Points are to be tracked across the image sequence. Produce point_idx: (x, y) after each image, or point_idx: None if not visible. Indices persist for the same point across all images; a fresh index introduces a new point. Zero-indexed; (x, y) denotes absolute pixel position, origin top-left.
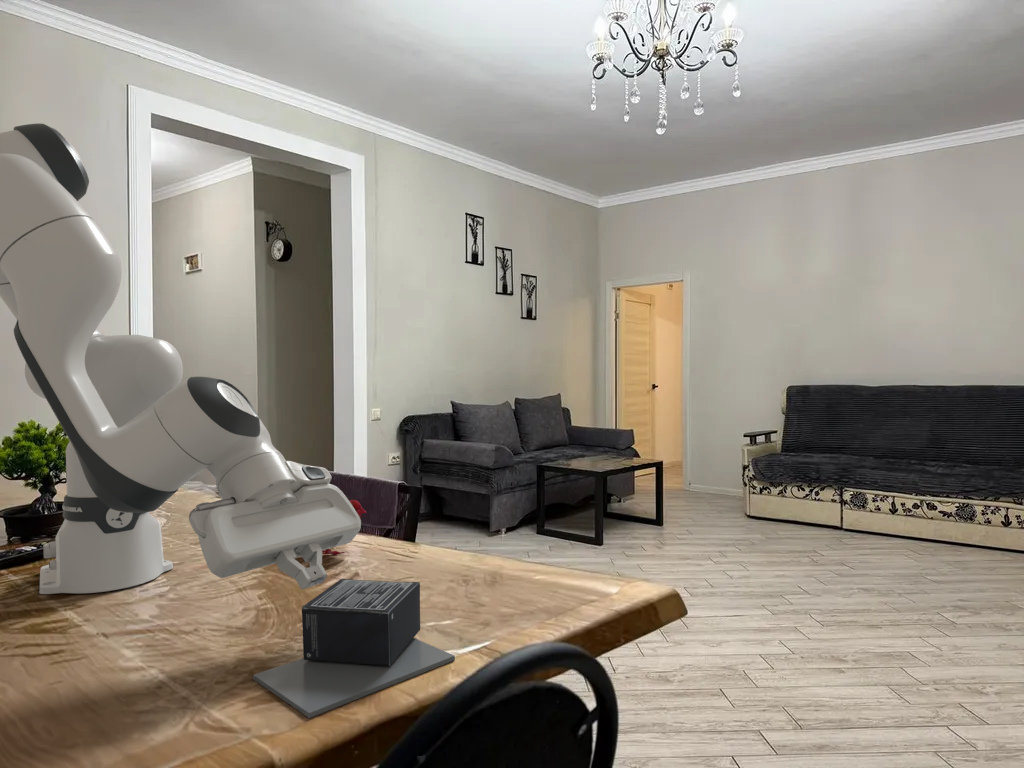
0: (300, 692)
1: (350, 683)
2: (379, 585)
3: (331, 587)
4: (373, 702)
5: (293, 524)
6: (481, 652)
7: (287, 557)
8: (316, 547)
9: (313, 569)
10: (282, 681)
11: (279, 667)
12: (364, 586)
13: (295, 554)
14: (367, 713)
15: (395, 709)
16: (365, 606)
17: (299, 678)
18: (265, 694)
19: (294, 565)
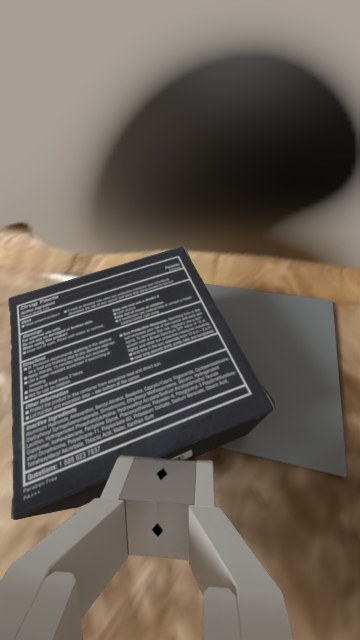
0: (313, 349)
1: (249, 315)
2: (51, 354)
3: (109, 466)
4: (253, 278)
5: None
6: (84, 266)
7: (277, 606)
8: (20, 601)
9: (156, 489)
10: (316, 401)
11: (292, 457)
12: (71, 380)
13: (207, 606)
14: (274, 268)
15: (248, 255)
16: (183, 290)
17: (290, 386)
18: (347, 404)
19: (241, 542)
